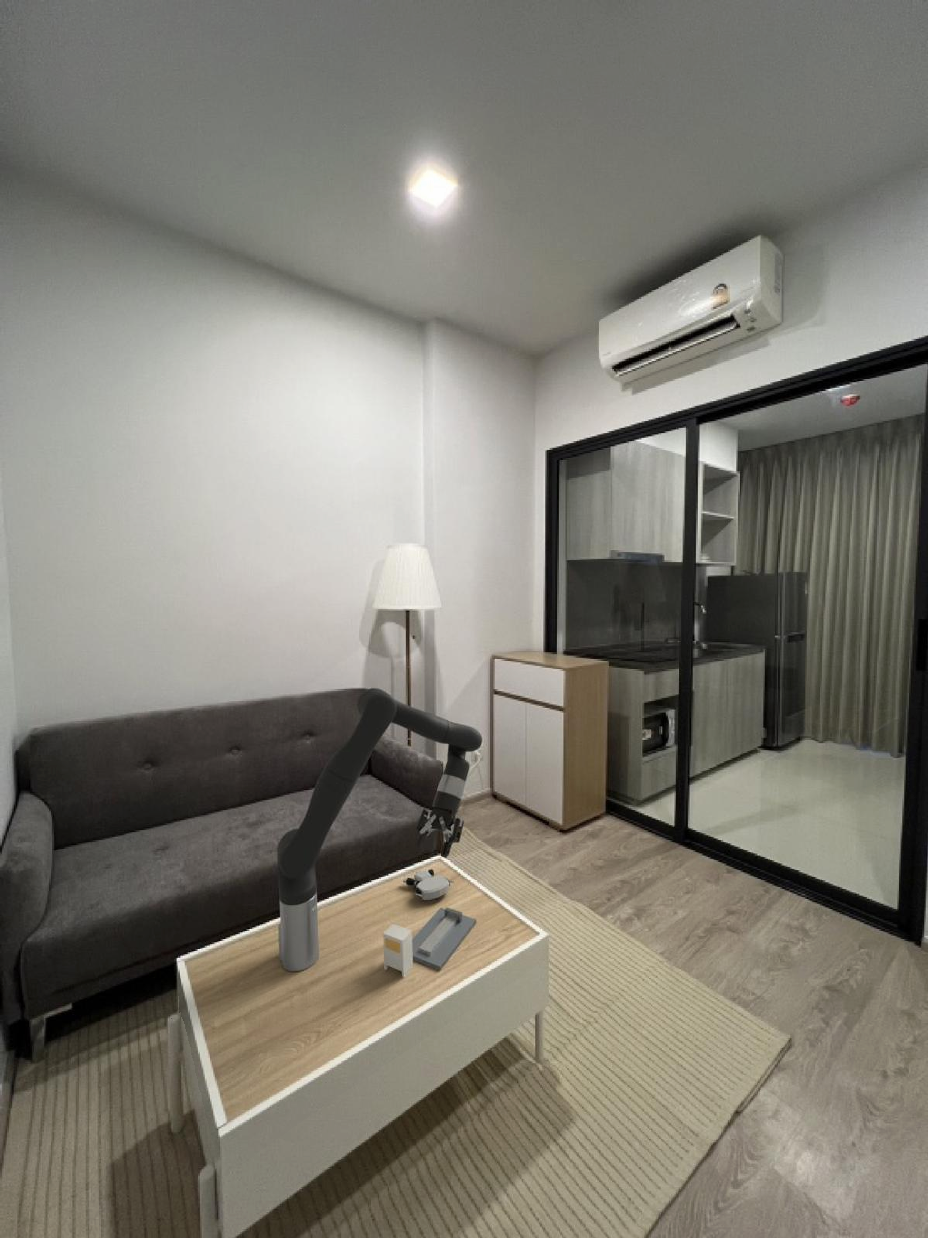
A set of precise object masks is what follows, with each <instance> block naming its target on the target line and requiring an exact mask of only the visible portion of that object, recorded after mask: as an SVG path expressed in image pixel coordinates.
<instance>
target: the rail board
mask: <svg viewBox="0 0 928 1238" xmlns="http://www.w3.org/2000/svg"><path fill="white" fill-rule="evenodd" d="M444 910H445V908H442V907H439V909H438V910H437V911H436V912H435V913H434V914H433V916H432V917H431V918H430V919H429V920H428V921H427V923H425V924H424V926H423V927H421V929H420V930H419V931H418V933H416V934H415V936H413V937H412V953H413V961H416V962H418V963H421V964H423V965H425V966H428V967H431V968H433V969H435V970H437V971H441V970H442V969H444V966H446V964H447V963H448V961H449V960H450V959H451V957H452V956H453V954H454V953H455V952H456V951H457V950H458V948H459V947H460V945H461V944H462V943H463V942H464V940H465V939H466V937H467V936H468V935H469V933H470V932H471V931H472V929H473V928H474V927H475V925H476V924H477V919H476V918H473V917H471V916H467V915H464V914H462V922H461V923H459V922H457V924H456V925H455V926H454V927H453V929H452V930H451V931H450V932H449V934H448V935H447V936H446V937H445V938H444V940H443V941H442V942H441V943H440V945H439V946H438V947H437V948H436V950H435V951H434V952H433V953H432V954H431V956H429V955H427V954H424V953H422V952H419V947H420V946H421V945H422V944H423V943H424V941H425V940H426V939H427V938H428V937H429V936H430V934H431V933H432V932H433V931H434V930H435V929H436V927H437V926H438V925H439V924H440V923H441V922H442V921H443V919H444V918H445V912H444Z"/></svg>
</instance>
